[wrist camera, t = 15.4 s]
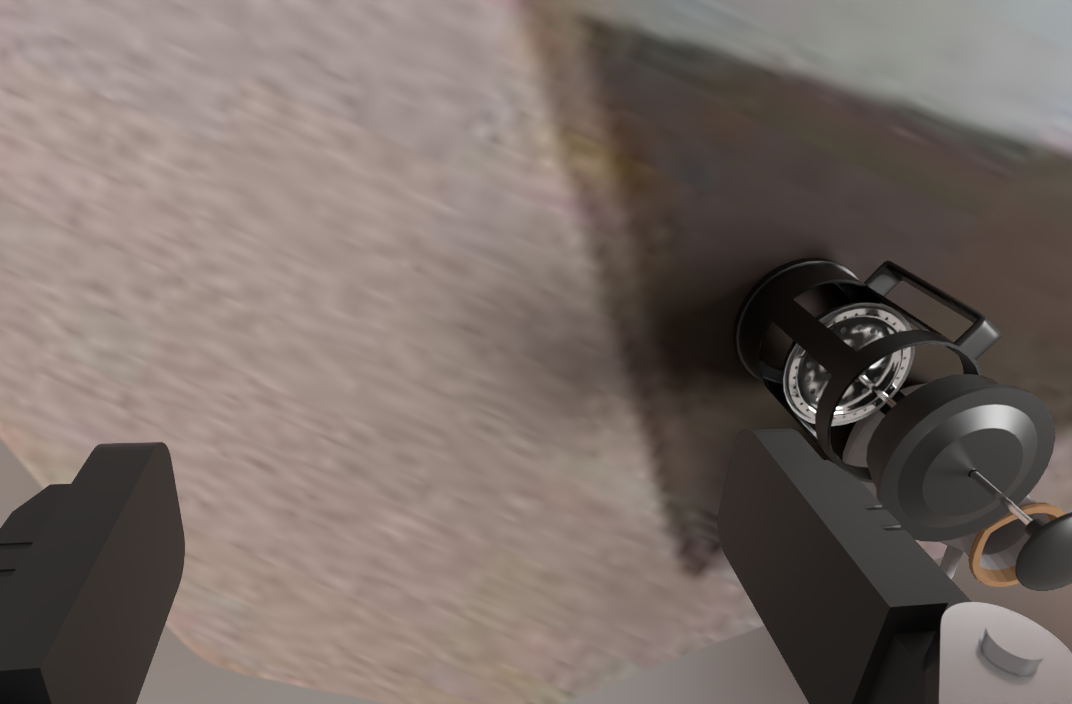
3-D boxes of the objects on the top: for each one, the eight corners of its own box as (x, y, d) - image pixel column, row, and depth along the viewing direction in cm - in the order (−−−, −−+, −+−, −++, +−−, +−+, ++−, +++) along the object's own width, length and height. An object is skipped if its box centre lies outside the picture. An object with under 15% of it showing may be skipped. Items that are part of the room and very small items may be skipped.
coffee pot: (894, 342, 52) (1062, 466, 39) (995, 401, 56) (1179, 531, 43) (719, 557, 59) (812, 725, 45) (821, 595, 63) (933, 759, 50)
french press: (785, 412, 53) (1023, 678, 33) (698, 346, 49) (906, 602, 29) (908, 289, 50) (1253, 499, 30) (825, 209, 46) (1155, 387, 26)
